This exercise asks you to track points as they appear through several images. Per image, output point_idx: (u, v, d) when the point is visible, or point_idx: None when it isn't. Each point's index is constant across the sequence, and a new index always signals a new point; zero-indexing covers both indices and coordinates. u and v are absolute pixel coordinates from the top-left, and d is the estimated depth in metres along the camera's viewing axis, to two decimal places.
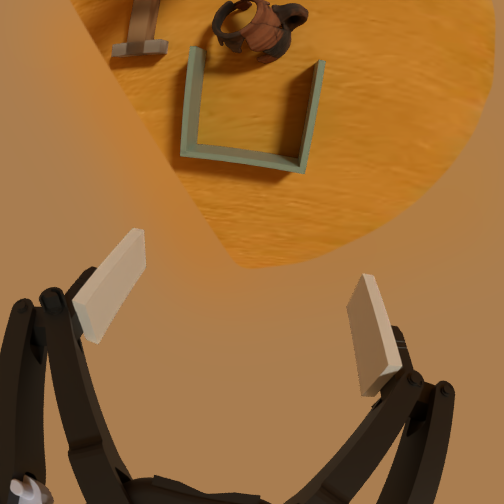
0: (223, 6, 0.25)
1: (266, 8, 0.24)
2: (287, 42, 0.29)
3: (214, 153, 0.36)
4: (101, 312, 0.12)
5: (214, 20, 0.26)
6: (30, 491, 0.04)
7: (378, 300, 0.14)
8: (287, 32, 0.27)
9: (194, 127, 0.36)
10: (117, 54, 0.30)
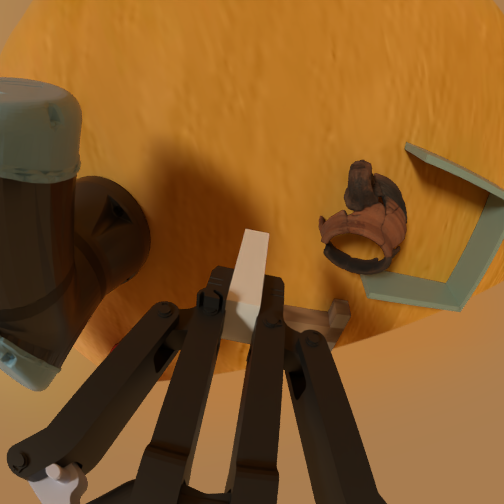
0: (331, 259, 0.28)
1: (356, 219, 0.24)
2: (389, 185, 0.25)
3: (473, 282, 0.27)
4: None
5: (349, 270, 0.28)
6: (66, 479, 0.05)
7: (262, 252, 0.16)
8: (382, 188, 0.24)
9: (437, 289, 0.31)
10: (330, 348, 0.38)
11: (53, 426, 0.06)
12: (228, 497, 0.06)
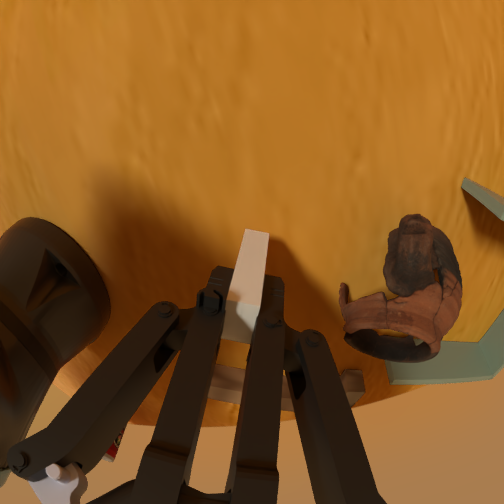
0: (354, 346, 0.19)
1: (400, 308, 0.14)
2: (443, 243, 0.16)
3: None
4: None
5: (377, 357, 0.19)
6: (66, 479, 0.05)
7: (262, 252, 0.16)
8: (437, 253, 0.15)
9: (469, 354, 0.22)
10: None
11: (53, 426, 0.06)
12: (228, 497, 0.06)
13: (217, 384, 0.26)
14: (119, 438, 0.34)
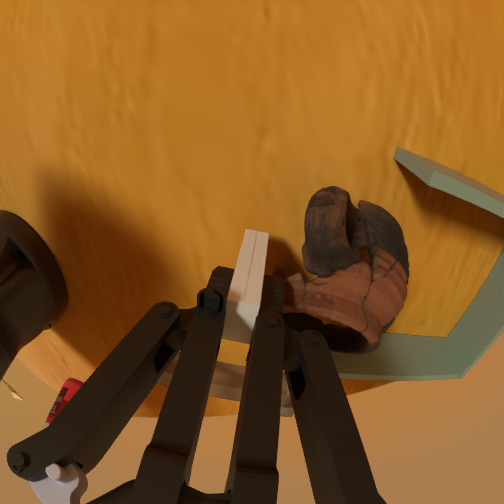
0: None
1: (319, 290, 0.15)
2: (382, 220, 0.16)
3: (482, 345, 0.18)
4: None
5: None
6: (66, 479, 0.05)
7: (261, 252, 0.16)
8: (369, 230, 0.15)
9: (433, 349, 0.22)
10: (291, 413, 0.28)
11: (53, 426, 0.06)
12: (228, 497, 0.06)
13: None
14: None
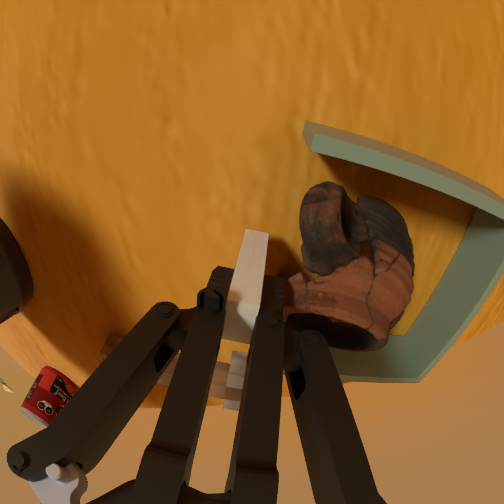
0: None
1: (321, 289, 0.14)
2: (382, 213, 0.16)
3: (440, 346, 0.18)
4: None
5: None
6: (66, 479, 0.05)
7: (261, 252, 0.16)
8: (369, 223, 0.15)
9: (384, 349, 0.22)
10: (239, 406, 0.28)
11: (53, 426, 0.06)
12: (228, 497, 0.06)
13: (110, 352, 0.26)
14: None
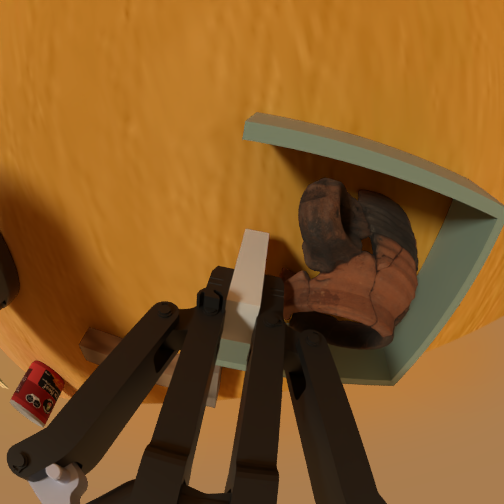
0: None
1: (323, 287, 0.14)
2: (384, 208, 0.15)
3: (414, 348, 0.18)
4: None
5: None
6: (66, 479, 0.05)
7: (262, 252, 0.16)
8: (370, 219, 0.14)
9: None
10: (213, 403, 0.28)
11: (53, 426, 0.06)
12: (228, 497, 0.06)
13: (88, 345, 0.26)
14: (49, 405, 0.34)
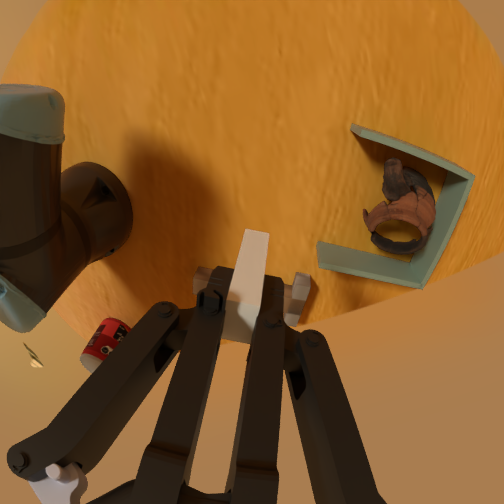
0: (378, 244, 0.31)
1: (395, 207, 0.27)
2: (416, 175, 0.28)
3: (432, 258, 0.31)
4: None
5: (394, 252, 0.31)
6: (66, 479, 0.05)
7: (262, 252, 0.16)
8: (411, 178, 0.27)
9: (397, 266, 0.35)
10: (296, 321, 0.41)
11: (53, 426, 0.06)
12: (228, 497, 0.06)
13: (201, 278, 0.40)
14: None
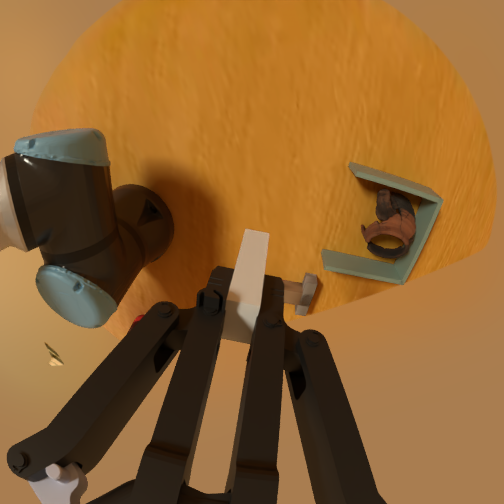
0: (372, 251, 0.43)
1: (384, 225, 0.38)
2: (401, 199, 0.40)
3: (410, 261, 0.42)
4: None
5: (384, 256, 0.43)
6: (66, 479, 0.05)
7: (262, 252, 0.16)
8: (397, 202, 0.39)
9: (383, 267, 0.46)
10: (305, 311, 0.53)
11: (53, 426, 0.06)
12: (228, 497, 0.06)
13: None
14: None
